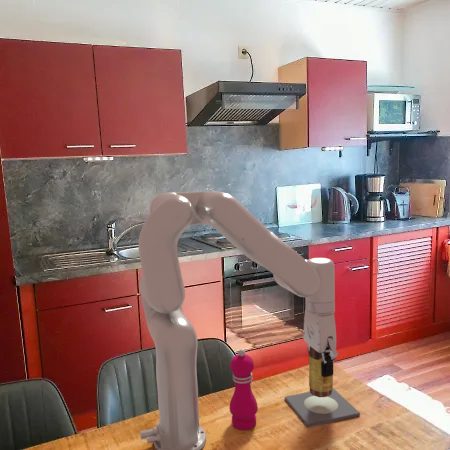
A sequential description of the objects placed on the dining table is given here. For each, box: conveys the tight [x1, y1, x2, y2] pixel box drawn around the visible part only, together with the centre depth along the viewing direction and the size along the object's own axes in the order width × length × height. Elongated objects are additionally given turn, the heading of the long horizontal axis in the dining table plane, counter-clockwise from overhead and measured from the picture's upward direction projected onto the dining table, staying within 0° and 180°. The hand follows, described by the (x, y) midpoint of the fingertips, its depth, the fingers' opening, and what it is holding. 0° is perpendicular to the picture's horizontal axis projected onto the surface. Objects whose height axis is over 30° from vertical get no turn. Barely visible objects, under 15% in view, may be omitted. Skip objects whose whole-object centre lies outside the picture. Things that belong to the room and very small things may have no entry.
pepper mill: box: [229, 348, 259, 431], centre depth 114 cm, size 7×7×20 cm
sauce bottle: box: [308, 346, 334, 397], centre depth 119 cm, size 6×6×20 cm
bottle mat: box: [284, 387, 361, 428], centre depth 121 cm, size 15×14×1 cm
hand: (320, 369), depth 120 cm, fingers closed on sauce bottle, 6 cm apart
